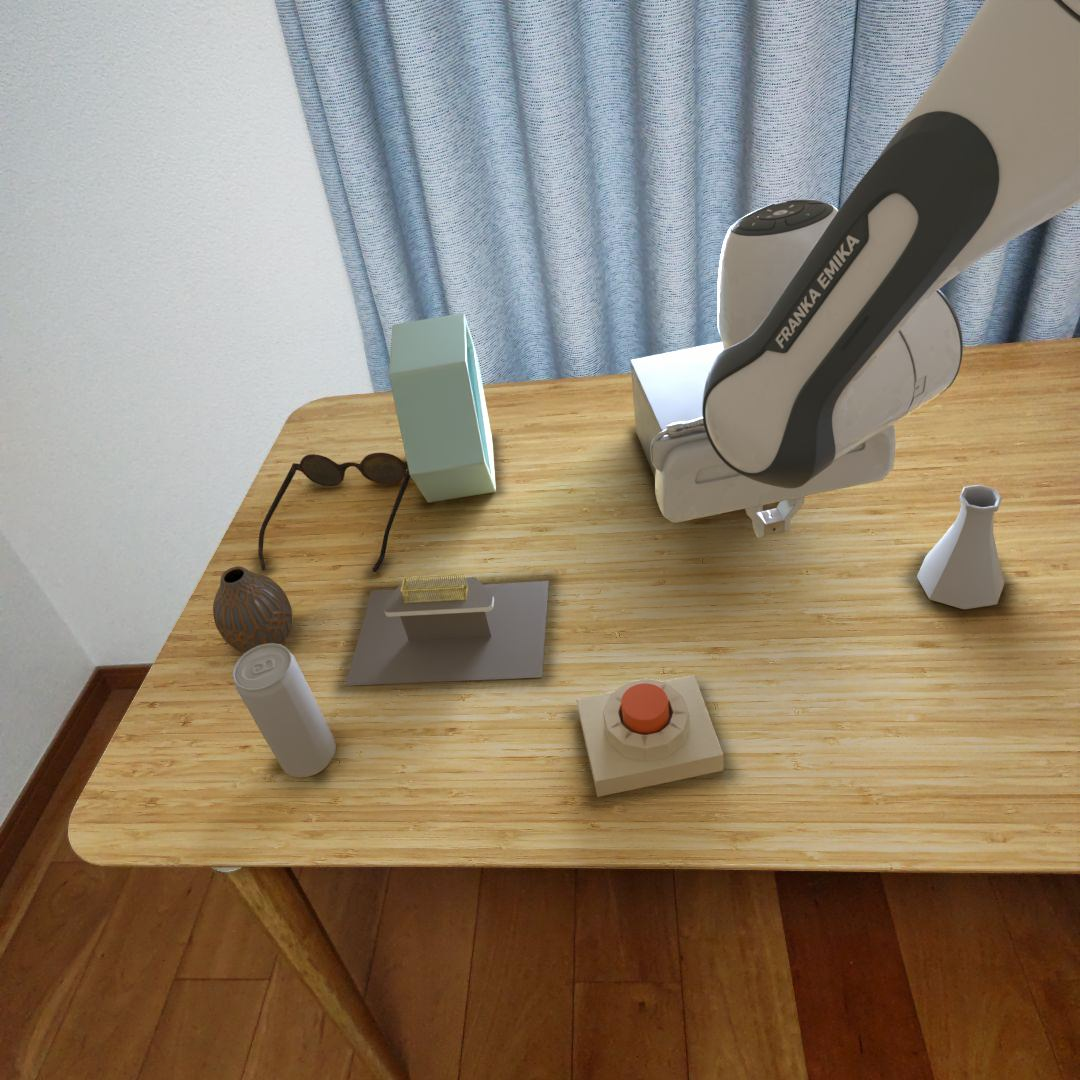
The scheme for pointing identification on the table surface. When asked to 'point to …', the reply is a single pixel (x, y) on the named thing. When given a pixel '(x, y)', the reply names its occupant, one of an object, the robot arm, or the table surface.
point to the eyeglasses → (331, 474)
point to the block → (649, 739)
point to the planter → (441, 408)
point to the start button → (645, 708)
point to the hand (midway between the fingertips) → (770, 530)
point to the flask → (966, 555)
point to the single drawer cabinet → (669, 390)
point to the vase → (251, 610)
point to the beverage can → (284, 709)
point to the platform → (451, 632)
